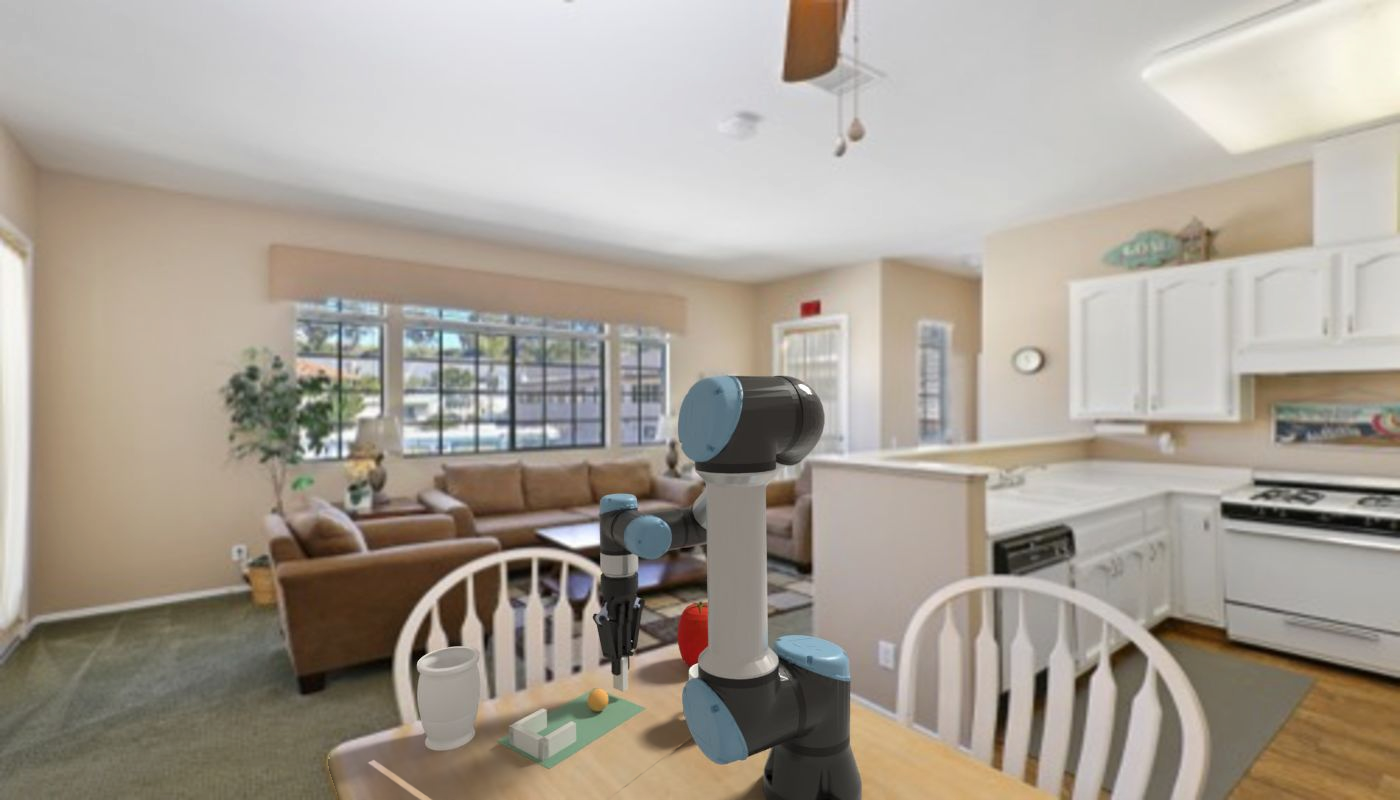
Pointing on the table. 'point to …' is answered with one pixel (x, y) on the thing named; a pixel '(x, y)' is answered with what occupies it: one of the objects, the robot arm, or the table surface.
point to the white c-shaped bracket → (535, 744)
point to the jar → (448, 696)
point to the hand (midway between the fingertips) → (620, 688)
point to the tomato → (693, 632)
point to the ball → (597, 700)
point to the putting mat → (582, 724)
